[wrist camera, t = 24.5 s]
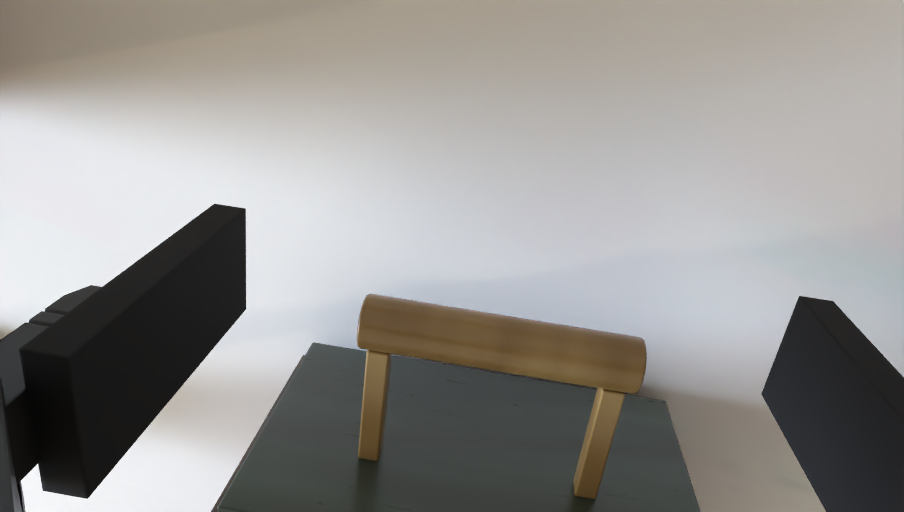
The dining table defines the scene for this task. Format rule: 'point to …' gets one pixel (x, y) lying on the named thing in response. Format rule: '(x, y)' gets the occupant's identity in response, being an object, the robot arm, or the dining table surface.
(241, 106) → the dining table surface
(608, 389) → the drawer
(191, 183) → the dining table surface
